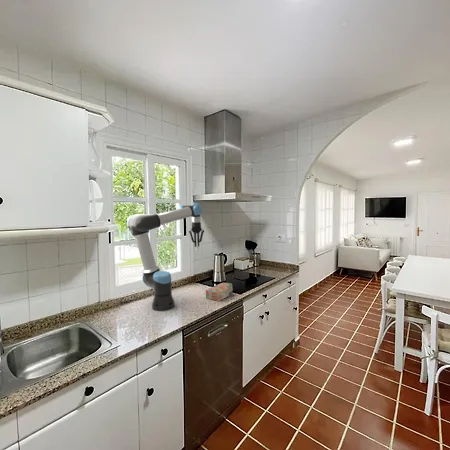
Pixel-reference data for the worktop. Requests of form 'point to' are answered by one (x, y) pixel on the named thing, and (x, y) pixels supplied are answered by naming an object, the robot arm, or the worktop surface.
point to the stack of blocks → (219, 291)
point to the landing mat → (230, 294)
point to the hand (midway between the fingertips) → (197, 250)
